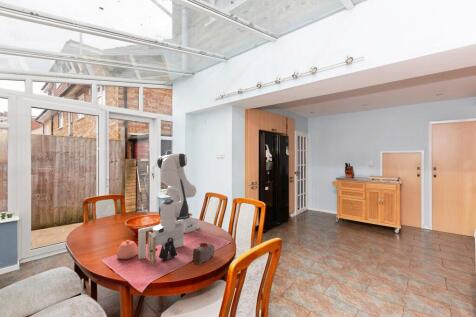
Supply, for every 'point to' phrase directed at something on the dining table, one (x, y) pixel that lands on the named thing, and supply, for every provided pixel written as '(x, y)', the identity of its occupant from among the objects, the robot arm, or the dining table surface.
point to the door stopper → (168, 250)
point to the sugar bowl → (127, 250)
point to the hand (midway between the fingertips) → (168, 248)
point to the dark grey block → (203, 252)
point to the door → (151, 248)
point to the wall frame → (143, 239)
